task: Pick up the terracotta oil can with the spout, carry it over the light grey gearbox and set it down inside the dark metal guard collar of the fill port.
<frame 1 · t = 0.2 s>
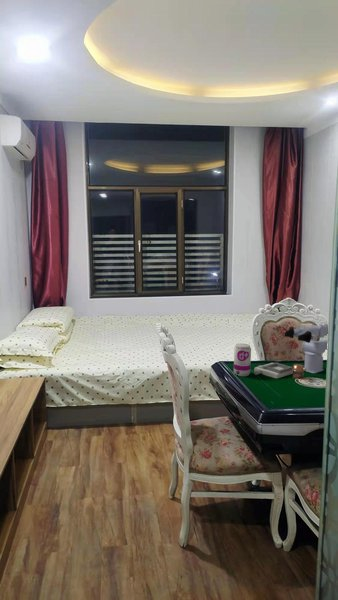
hand: (291, 336, 206), 21 cm above the table, tool horizontal, fingers open, 7 cm apart
supplement can: (241, 374, 214), on the table
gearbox: (274, 372, 218), on the table
spout can: (297, 377, 211), on the table
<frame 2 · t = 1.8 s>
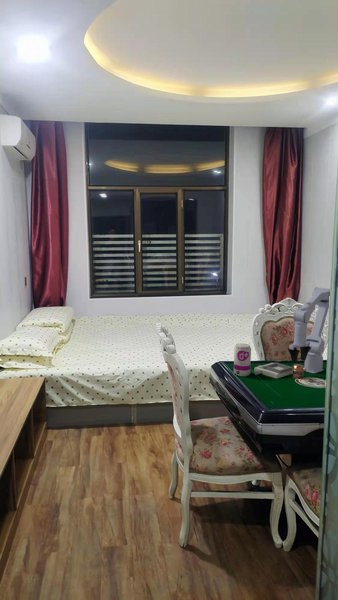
hand: (298, 361, 209), 8 cm above the table, tool pointing down, fingers open, 7 cm apart
nothing on the table moved.
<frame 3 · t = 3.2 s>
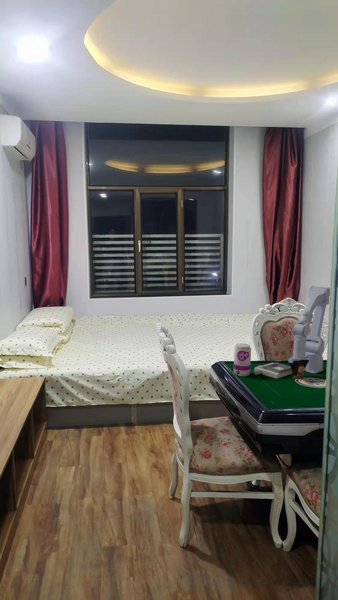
hand: (298, 374, 210), 1 cm above the table, tool pointing down, fingers closed on spout can, 5 cm apart
spout can: (297, 377, 211), on the table, touching gripper
everything else where it was.
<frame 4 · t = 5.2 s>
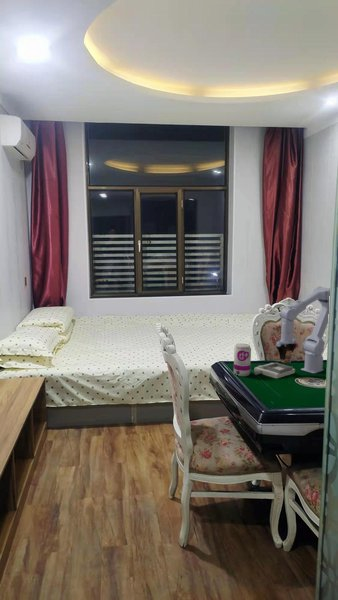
hand: (285, 358, 213), 8 cm above the table, tool pointing down, fingers closed on spout can, 5 cm apart
spout can: (285, 361, 213), point 7 cm above the table, touching gripper
everything else where it was.
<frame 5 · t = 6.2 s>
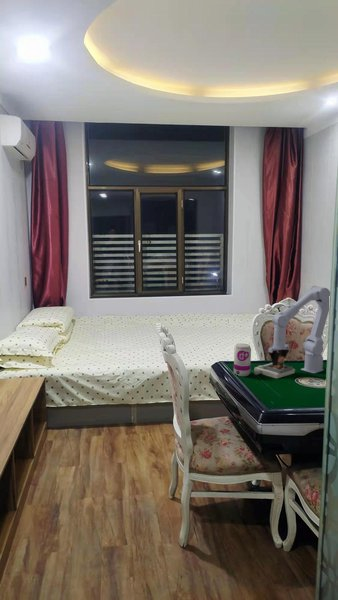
hand: (278, 364, 216), 5 cm above the table, tool pointing down, fingers closed on spout can, 5 cm apart
spout can: (278, 367, 216), point 3 cm above the table, touching gripper
everything else where it was.
when the fingers open (4 cm above the table, at t = 7.2 s): spout can stays where it is, resting on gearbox.
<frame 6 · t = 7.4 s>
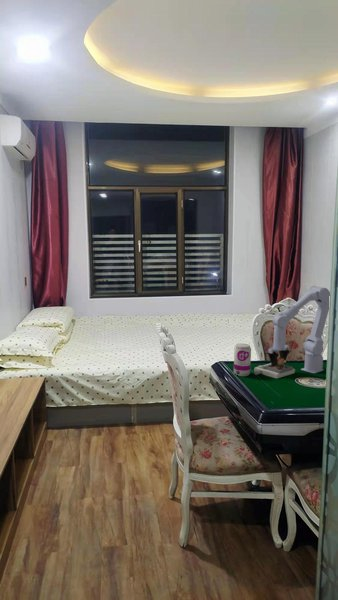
hand: (278, 364, 216), 4 cm above the table, tool pointing down, fingers open, 7 cm apart
spout can: (278, 369, 216), point 2 cm above the table, touching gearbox
everything else where it was.
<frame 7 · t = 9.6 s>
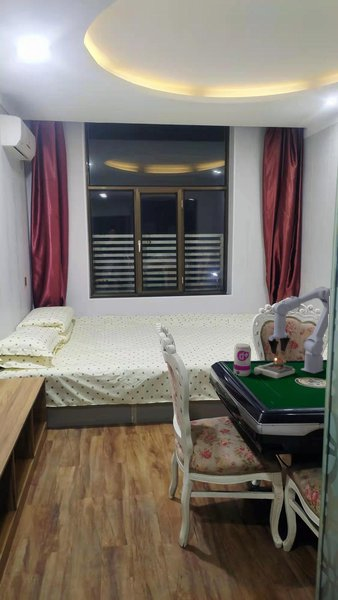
hand: (278, 352, 217), 10 cm above the table, tool pointing down, fingers open, 7 cm apart
nothing on the table moved.
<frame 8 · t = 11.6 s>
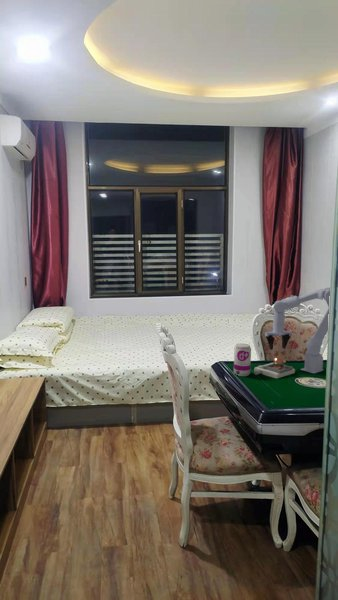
hand: (277, 348, 224), 10 cm above the table, tool pointing down, fingers open, 7 cm apart
nothing on the table moved.
at the end: spout can 0.2 cm from the target spot on the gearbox, point 2.0 cm above the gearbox's base; spout can tilted 0°; the gripper is holding nothing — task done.
